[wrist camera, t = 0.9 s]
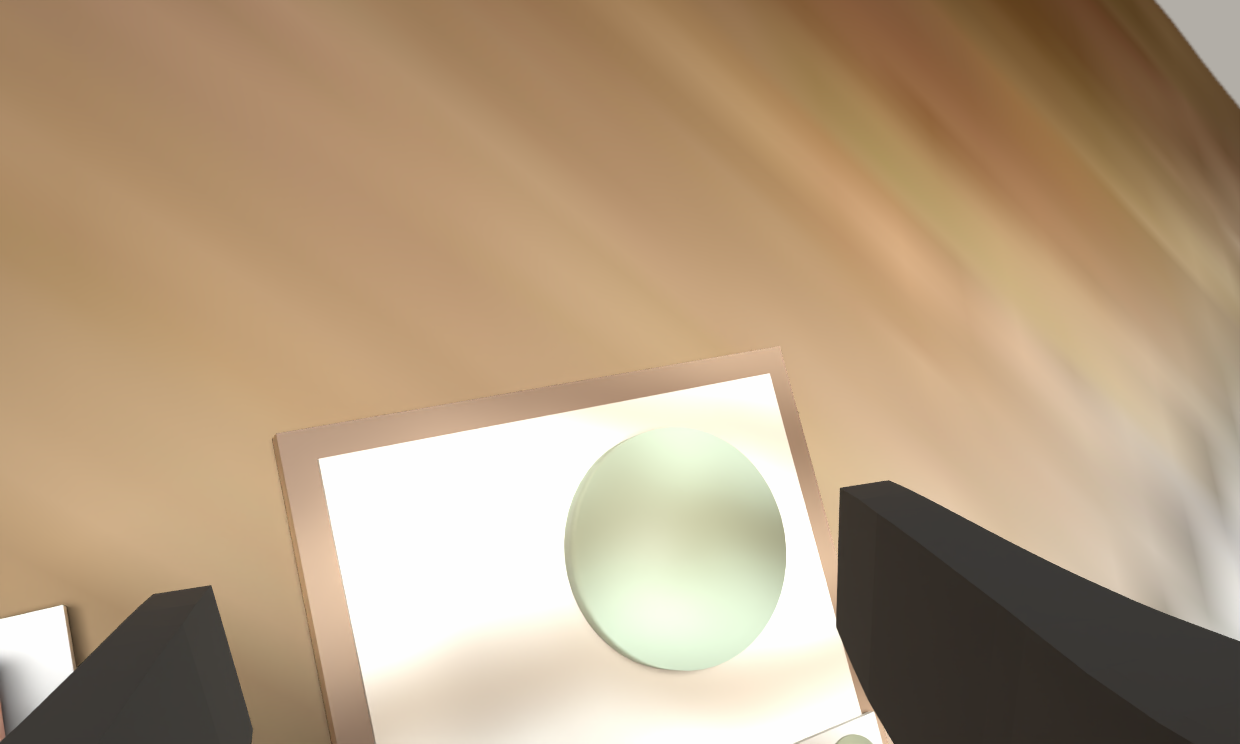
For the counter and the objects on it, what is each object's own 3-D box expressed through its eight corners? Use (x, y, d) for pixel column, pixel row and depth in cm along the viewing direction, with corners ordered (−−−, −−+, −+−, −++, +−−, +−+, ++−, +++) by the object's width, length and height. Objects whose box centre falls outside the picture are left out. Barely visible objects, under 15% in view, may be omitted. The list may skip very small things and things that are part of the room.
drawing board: (906, 874, 28) (951, 889, 27) (410, 1142, 21) (430, 1182, 20) (765, 352, 31) (799, 337, 29) (271, 439, 24) (281, 426, 22)
